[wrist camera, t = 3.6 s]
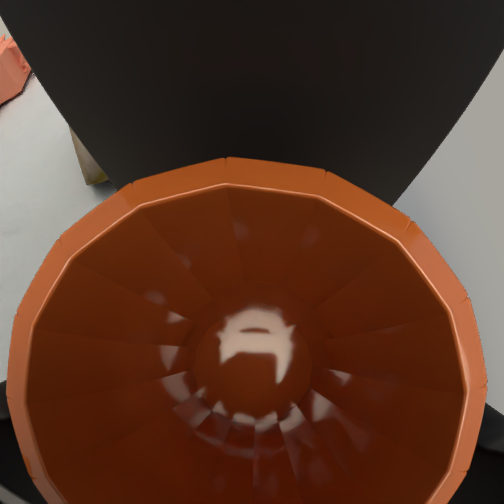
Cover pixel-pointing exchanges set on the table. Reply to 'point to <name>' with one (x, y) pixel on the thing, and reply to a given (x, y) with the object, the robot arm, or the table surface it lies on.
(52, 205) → the table surface
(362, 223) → the cup
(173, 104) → the grey l-shaped post
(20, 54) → the teapot
